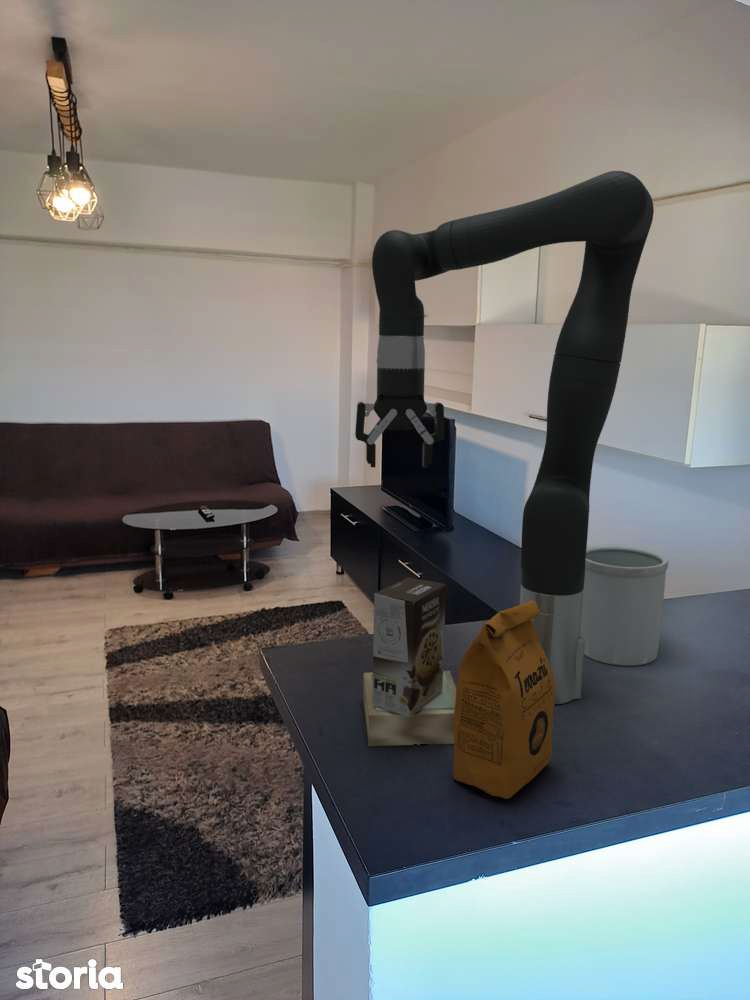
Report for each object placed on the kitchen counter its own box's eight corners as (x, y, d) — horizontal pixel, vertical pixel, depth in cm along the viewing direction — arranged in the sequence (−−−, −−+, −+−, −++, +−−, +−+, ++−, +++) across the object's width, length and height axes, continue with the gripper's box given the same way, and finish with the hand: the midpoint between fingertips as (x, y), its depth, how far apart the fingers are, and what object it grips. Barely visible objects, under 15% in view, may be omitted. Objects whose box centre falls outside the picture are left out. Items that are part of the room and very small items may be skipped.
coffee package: (564, 771, 95) (575, 607, 91) (506, 813, 87) (516, 634, 82) (499, 741, 102) (507, 587, 98) (440, 777, 94) (446, 611, 89)
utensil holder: (554, 647, 133) (561, 553, 130) (602, 627, 143) (609, 538, 139) (629, 676, 122) (638, 573, 119) (675, 652, 132) (685, 556, 128)
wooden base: (448, 698, 114) (449, 669, 113) (464, 743, 102) (465, 710, 101) (363, 700, 113) (363, 670, 112) (368, 746, 101) (368, 713, 100)
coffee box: (411, 719, 98) (413, 602, 95) (370, 705, 102) (371, 592, 98) (444, 692, 106) (448, 583, 102) (405, 680, 109) (407, 574, 106)
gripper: (356, 366, 114) (356, 471, 118) (449, 366, 115) (446, 470, 119) (354, 364, 122) (354, 463, 125) (441, 365, 123) (439, 463, 126)
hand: (399, 466), depth 122 cm, fingers open, 8 cm apart
